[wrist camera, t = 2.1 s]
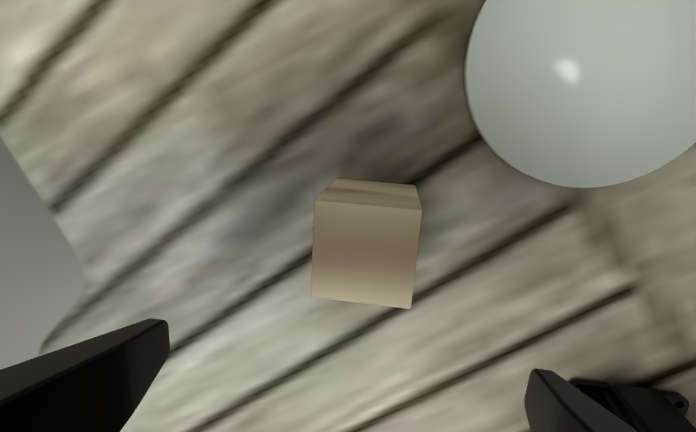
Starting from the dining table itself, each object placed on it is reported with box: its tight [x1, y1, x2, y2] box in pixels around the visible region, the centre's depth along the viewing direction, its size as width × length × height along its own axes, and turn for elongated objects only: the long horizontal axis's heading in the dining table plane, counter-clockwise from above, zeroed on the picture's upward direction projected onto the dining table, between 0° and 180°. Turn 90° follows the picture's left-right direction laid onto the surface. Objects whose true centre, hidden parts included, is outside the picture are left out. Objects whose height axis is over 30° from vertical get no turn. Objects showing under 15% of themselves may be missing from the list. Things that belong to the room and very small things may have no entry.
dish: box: [463, 0, 696, 188], centre depth 17 cm, size 12×12×1 cm
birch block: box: [311, 179, 422, 309], centre depth 19 cm, size 4×4×6 cm
